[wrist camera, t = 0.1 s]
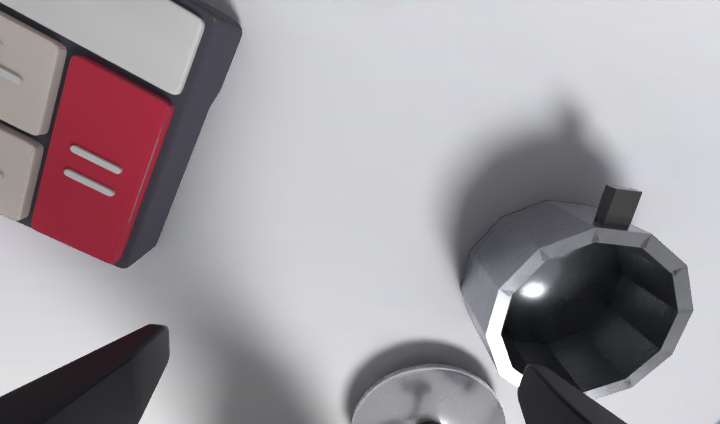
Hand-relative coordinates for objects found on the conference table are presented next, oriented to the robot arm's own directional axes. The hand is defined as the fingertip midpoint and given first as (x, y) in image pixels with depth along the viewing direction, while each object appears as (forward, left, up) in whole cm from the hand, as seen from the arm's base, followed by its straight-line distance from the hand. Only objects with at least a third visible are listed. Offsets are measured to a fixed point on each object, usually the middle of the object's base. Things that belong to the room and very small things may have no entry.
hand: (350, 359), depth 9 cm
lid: (-17, -8, -15) cm, 24 cm away
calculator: (+4, +15, -15) cm, 21 cm away
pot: (-4, -14, -15) cm, 21 cm away
